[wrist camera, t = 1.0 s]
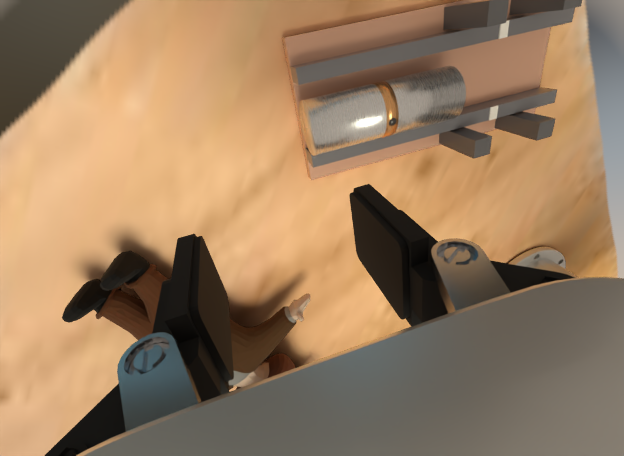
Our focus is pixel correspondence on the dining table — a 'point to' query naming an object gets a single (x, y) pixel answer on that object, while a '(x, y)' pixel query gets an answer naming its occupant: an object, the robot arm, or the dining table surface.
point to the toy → (141, 313)
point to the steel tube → (381, 109)
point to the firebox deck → (430, 55)
